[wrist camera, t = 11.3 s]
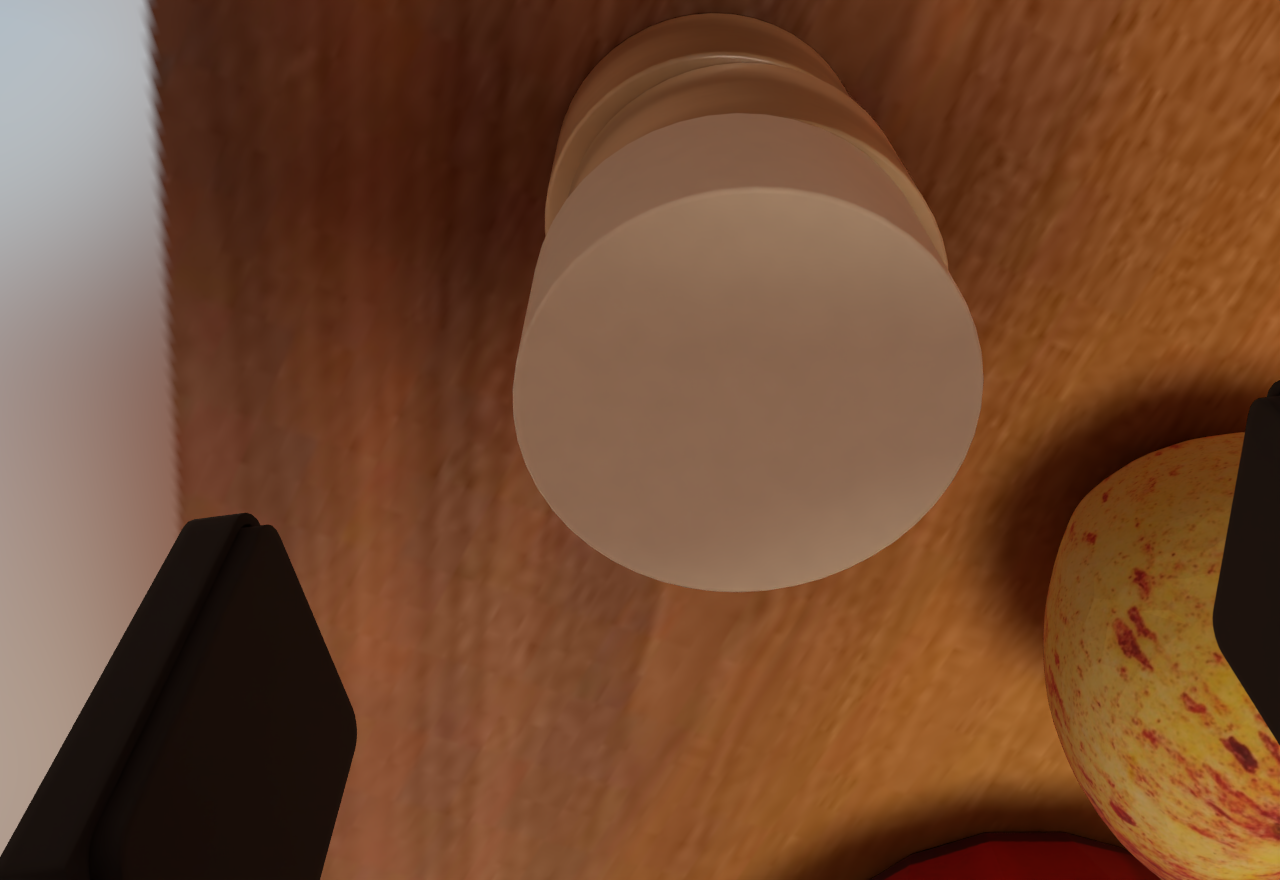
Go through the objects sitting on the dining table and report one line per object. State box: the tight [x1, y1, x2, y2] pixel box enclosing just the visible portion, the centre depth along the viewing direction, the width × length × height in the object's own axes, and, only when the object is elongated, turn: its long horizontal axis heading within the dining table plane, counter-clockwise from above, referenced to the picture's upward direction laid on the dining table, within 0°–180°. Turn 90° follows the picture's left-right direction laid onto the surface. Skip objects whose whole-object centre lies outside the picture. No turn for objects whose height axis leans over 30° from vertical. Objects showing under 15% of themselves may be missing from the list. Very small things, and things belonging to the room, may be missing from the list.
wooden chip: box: [513, 113, 984, 592], centre depth 15 cm, size 6×6×3 cm
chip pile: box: [545, 13, 949, 271], centre depth 19 cm, size 6×6×6 cm
